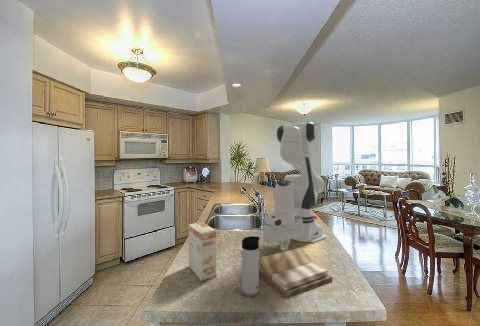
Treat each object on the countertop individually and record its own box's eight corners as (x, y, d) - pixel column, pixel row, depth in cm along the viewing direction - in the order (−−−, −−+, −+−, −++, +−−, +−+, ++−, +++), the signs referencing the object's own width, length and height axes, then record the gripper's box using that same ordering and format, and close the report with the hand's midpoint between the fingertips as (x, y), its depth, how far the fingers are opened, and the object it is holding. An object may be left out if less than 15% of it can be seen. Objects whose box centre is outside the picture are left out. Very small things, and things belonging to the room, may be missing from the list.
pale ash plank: (312, 267, 99) (312, 262, 99) (327, 275, 92) (327, 270, 92) (271, 279, 89) (271, 274, 89) (284, 290, 82) (284, 284, 82)
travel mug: (262, 295, 81) (262, 239, 81) (244, 298, 79) (244, 241, 79) (256, 285, 87) (256, 234, 87) (239, 288, 85) (239, 236, 85)
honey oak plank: (299, 250, 106) (300, 247, 105) (310, 264, 100) (312, 262, 99) (260, 260, 96) (261, 257, 95) (269, 277, 90) (271, 274, 89)
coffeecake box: (217, 276, 94) (216, 230, 94) (200, 281, 90) (200, 233, 90) (202, 262, 107) (202, 221, 106) (188, 266, 103) (188, 223, 102)
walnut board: (297, 260, 109) (297, 257, 109) (332, 280, 91) (332, 276, 91) (255, 272, 97) (255, 269, 97) (285, 297, 80) (285, 293, 80)
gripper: (297, 213, 106) (297, 242, 106) (260, 219, 96) (260, 251, 97) (307, 216, 101) (307, 247, 101) (269, 222, 91) (269, 256, 91)
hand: (284, 249), depth 99 cm, fingers closed
